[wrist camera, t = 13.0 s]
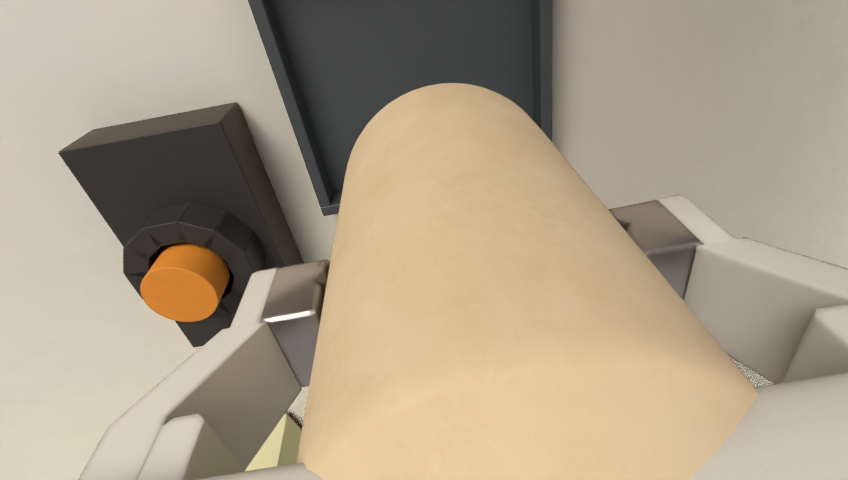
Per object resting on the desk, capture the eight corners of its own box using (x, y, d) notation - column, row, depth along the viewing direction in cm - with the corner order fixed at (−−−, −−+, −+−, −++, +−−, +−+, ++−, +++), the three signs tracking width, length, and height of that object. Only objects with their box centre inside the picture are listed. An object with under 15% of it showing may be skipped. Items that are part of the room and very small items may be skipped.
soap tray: (240, -59, 19) (226, -59, 18) (538, -120, 19) (553, -126, 17) (327, 199, 27) (323, 216, 25) (541, 160, 26) (552, 174, 25)
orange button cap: (144, 249, 22) (124, 274, 21) (212, 237, 22) (198, 261, 21) (178, 300, 24) (162, 327, 23) (240, 289, 24) (229, 315, 23)
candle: (498, 276, 14) (657, 745, 6) (328, 240, 13) (227, 774, 5) (582, 115, 11) (1119, 587, 3) (373, 48, 10) (320, 551, 2)
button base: (91, 129, 23) (29, 170, 19) (237, 101, 23) (205, 136, 19) (208, 315, 31) (181, 372, 27) (317, 296, 31) (307, 350, 27)
